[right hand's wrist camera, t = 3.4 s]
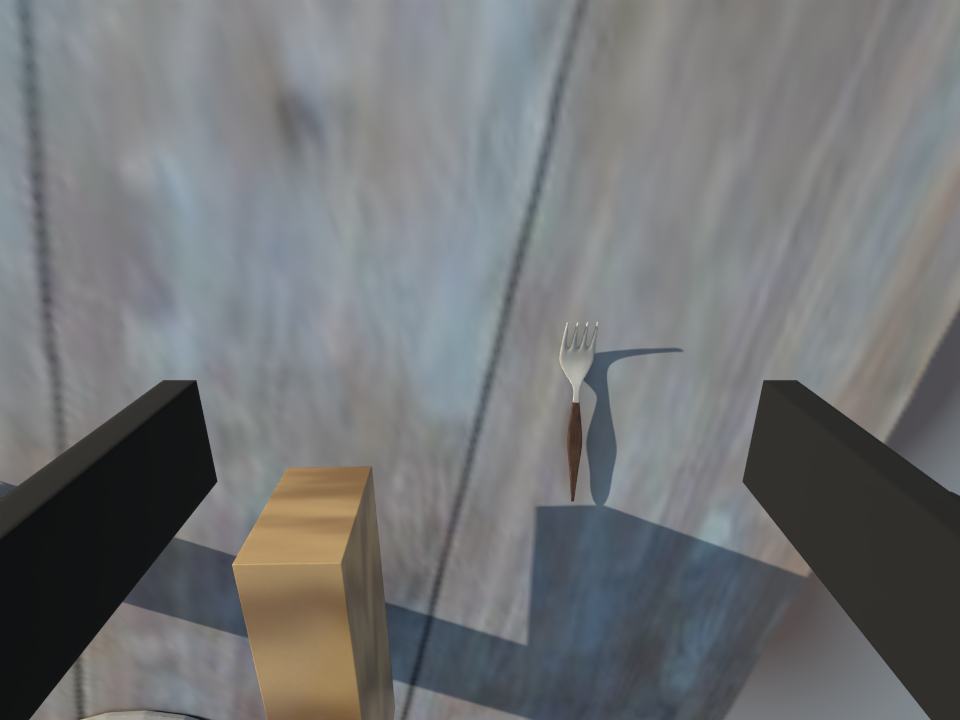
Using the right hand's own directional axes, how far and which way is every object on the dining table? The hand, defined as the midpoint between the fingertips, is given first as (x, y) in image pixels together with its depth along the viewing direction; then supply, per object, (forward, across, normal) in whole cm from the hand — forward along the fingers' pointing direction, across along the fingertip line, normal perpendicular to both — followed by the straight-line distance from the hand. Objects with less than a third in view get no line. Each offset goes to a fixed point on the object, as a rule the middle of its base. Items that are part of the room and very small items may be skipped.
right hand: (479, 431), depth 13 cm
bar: (+21, -10, -27) cm, 36 cm away
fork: (+27, +7, -13) cm, 31 cm away
